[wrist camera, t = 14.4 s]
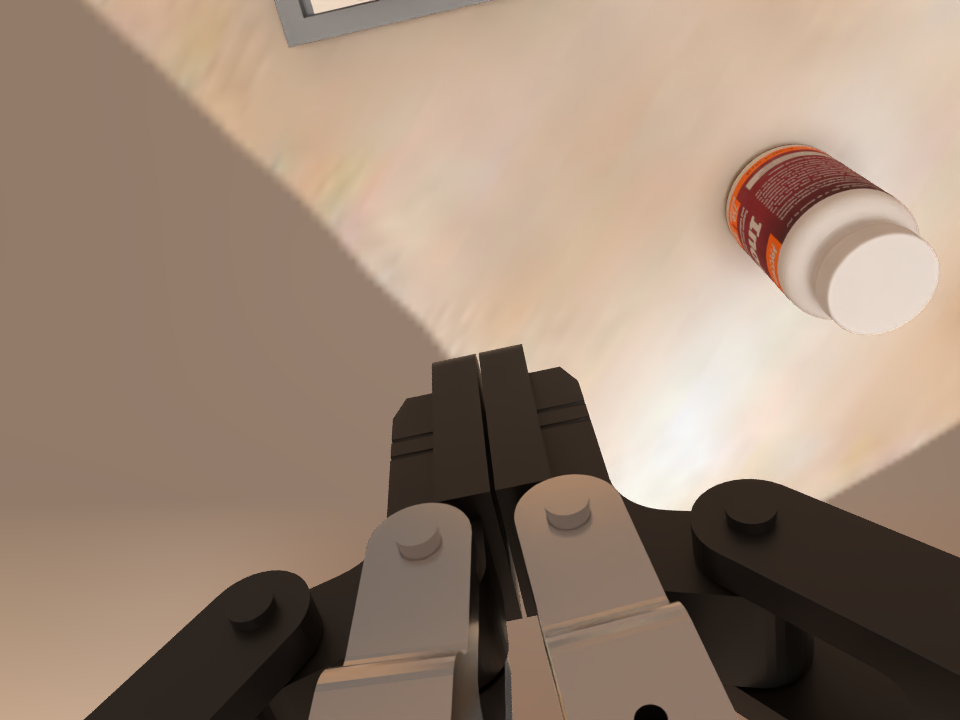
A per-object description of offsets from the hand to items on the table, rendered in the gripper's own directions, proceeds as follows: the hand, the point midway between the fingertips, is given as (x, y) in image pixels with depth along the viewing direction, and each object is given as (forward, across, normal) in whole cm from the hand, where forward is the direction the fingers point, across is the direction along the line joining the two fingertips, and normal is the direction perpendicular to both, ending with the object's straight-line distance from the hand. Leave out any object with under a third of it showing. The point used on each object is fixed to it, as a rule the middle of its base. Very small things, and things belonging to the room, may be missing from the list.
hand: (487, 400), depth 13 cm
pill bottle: (+29, -16, +10) cm, 35 cm away
